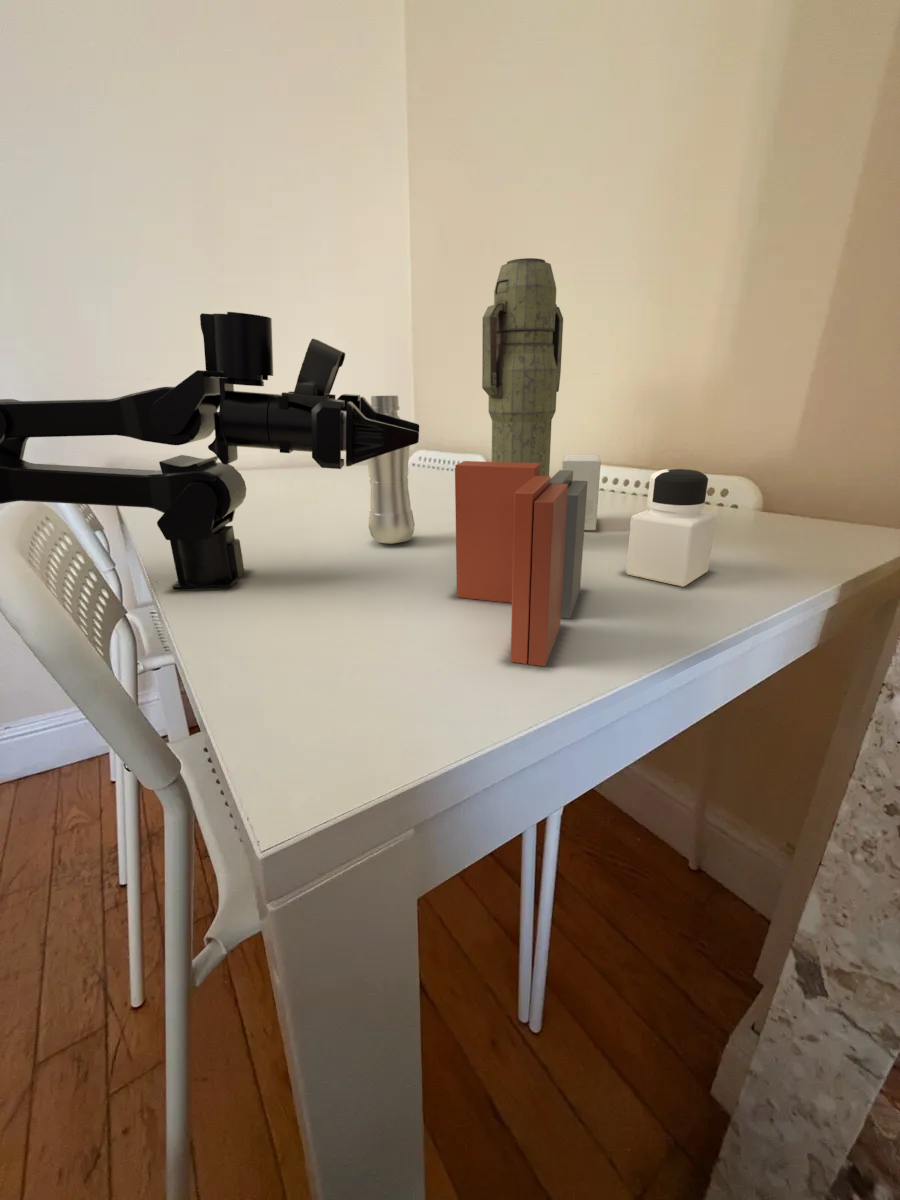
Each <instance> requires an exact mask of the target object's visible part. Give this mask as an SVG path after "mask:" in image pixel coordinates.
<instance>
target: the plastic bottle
mask: <svg viewBox="0 0 900 1200" xmlns="http://www.w3.org/2000/svg"><path fill="white" fill-rule="evenodd" d="M399 403H400V402H399V396H398V395H371V396H370V405H371V406H372V408H373V409H374V410H375V411H377V412H380V413H383V414H386V415H390V416H393V417H396V418H400V416H399V413H398V411H400V404H399ZM400 419H401V418H400ZM410 446H411V445H410ZM410 446H407V447H404V448H401V449H398V450H395V451H392V452H389V453H385V454H383V455H380V456H377V457H374V458H371V459H368V460H366V463H367V464H366V465H367V468H368V469H367V470H368V477H369V485H370V486H369V487H370V503H369V504H370V508H369V509H370V510H369V516H368V529H369V533H370V536H371V537H372V539H373V540H374V541H375V542H377V543H380V544H391V545H392V544H393V545H394V544H398V543H404V542H407V541H409V540H411V538H412V537H413V535H414V531H415V519H414V514H413V510H412V508H411V507H412V505H411V497H410V489H409V477H408V476H409V457H410V448H411V447H410Z"/></svg>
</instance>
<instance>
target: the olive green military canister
mask: <svg viewBox="0 0 900 1200" xmlns="http://www.w3.org/2000/svg"><path fill="white" fill-rule="evenodd" d="M499 269H500V270H499V273H498V276H497V278H496V279H497V280H496V282H495V286H494V292H493V304H492V305H489V306H487V308H486V310H485V312H484V314H483V316H482V354H481V355H482V361H481V362H482V369H481V370H482V372H481V373H482V377H481V379H482V380H481V388H482V390H483V391H484V392H485V394H487V396H488V415H489V417H490V420H491V462H519V463H541V476H550V465H551V444H552V442H551V441H552V424H553V423H552V420H553V418H554V416H555V413H556V411H557V394H558V392H560V391H559V390H560V381H561V373H562V354H563V353H562V352H563V351H562V350H563V335H564V334H563V332H564V331H563V330H564V317H563V314H562V312H561V309H560V307H559V306H557V285H556V280H555V277H554V271H553V267H552V263H549V262H546V259H542V258H533V257H530V258H529V257H528V258H527V257H525V258H524V257H523V258H515V259H511V260H508V261H507V262H506V263H505V264H502V265H501V267H500V268H499Z"/></svg>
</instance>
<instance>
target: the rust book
mask: <svg viewBox="0 0 900 1200" xmlns="http://www.w3.org/2000/svg"><path fill="white" fill-rule="evenodd" d="M534 476H541V463H519V462H492V461H478V460H475V461H474V460H464V461H461V462H460V463H457V464H455V466H454V495H455V497H454V499H455V504H454V505H455V556H456V557H455V565H456V566H455V567H456V569H455V571H456V573H455V574H456V575H455V576H456V597H457V598H459V599H468V600H469V599H470V600H479V601H488V602H500V603H509V604H512V578H513V536H514V494H515V492H516V491H517V490H519V489H520V488H521V487H522V486H523V485H525V484H526V483H527V482H528V481H530V480H531V479H532V478H533V477H534Z"/></svg>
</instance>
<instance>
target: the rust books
mask: <svg viewBox="0 0 900 1200" xmlns="http://www.w3.org/2000/svg"><path fill="white" fill-rule="evenodd" d="M551 478H552V477H551V476H550V475H549V476H534V477H533V478H532V479H531V480H530V481H528V482H527V483H526V484H525V485H523V486H522V487H521V488H520V489H519V490H517V491H516V492H515V494H514V536H513V578H512V603H511V622H510V624H511V627H510V628H511V629H510V630H511V631H510V662H511V663H515V664H516V663H517V664H524V665H527V664H528V665H530V666H537V667H546V666H547V663H548V661H549V658H550V655H551V654H552V650H553V647H554V645H555V642H556V641H557V638H558V635H559V632H560V629H561V619H562V618H561V602H562V584H563V567H564V550H565V532H566V515H567V497H568V484H553V483H552V484H551V485H550V483H551Z"/></svg>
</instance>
